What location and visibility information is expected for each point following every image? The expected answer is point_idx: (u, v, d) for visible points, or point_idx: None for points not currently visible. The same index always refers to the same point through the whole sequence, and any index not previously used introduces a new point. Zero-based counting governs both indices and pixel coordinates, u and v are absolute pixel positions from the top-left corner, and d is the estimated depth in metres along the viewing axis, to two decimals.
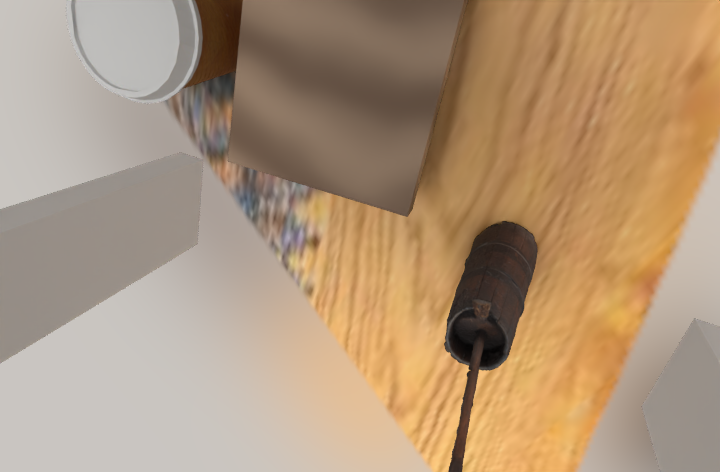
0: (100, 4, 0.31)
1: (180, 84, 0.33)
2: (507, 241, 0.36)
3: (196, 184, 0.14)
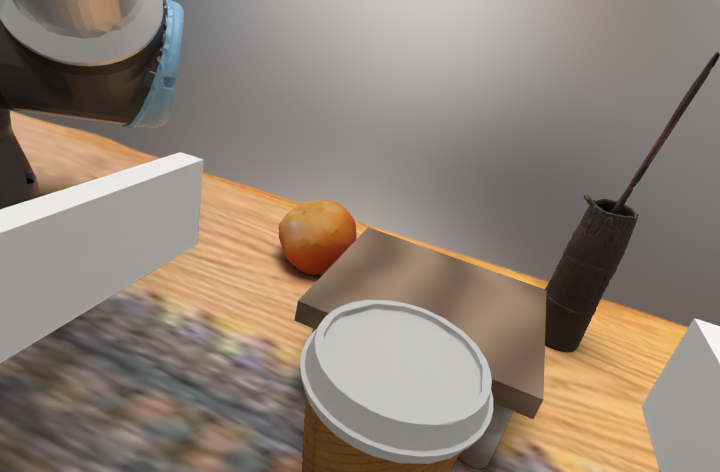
0: (369, 373, 0.22)
1: None
2: None
3: (196, 184, 0.14)
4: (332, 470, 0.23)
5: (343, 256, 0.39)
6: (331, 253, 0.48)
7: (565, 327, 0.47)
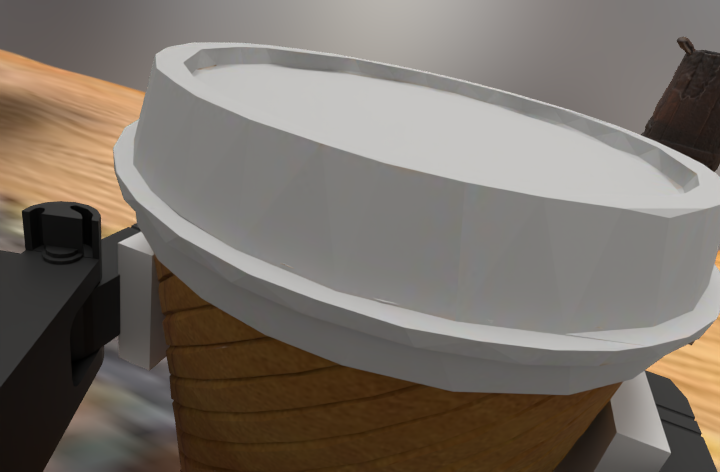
0: (335, 120, 0.07)
1: None
2: None
3: None
4: (222, 446, 0.07)
5: None
6: None
7: None
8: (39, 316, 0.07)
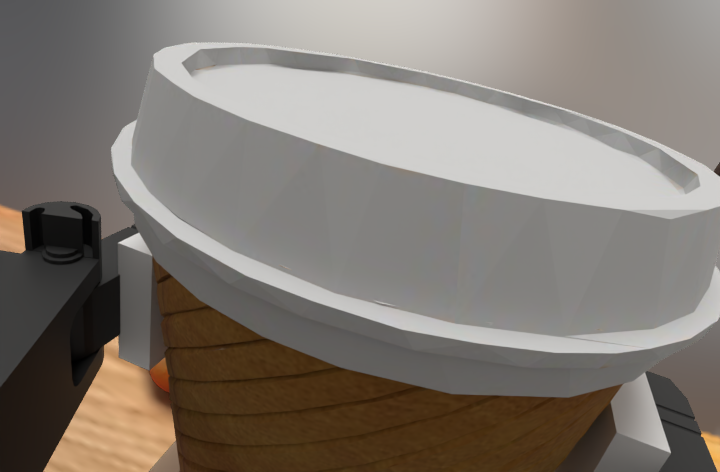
0: (333, 121, 0.07)
1: None
2: None
3: None
4: (220, 448, 0.07)
5: None
6: None
7: None
8: (39, 316, 0.07)
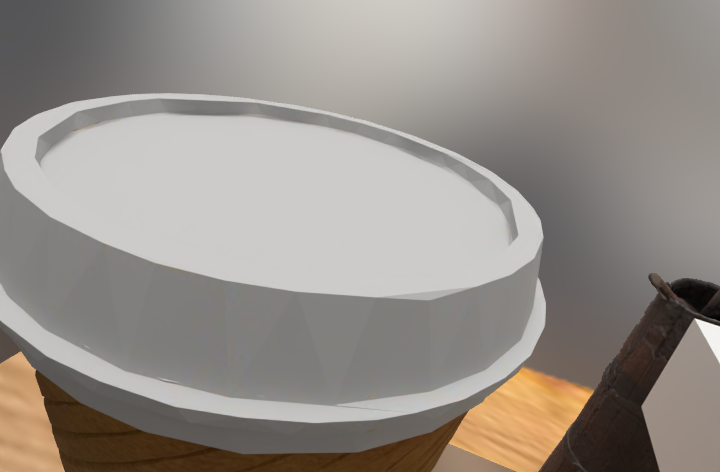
0: (184, 189, 0.07)
1: None
2: (561, 446, 0.26)
3: None
4: None
5: None
6: None
7: None
8: None
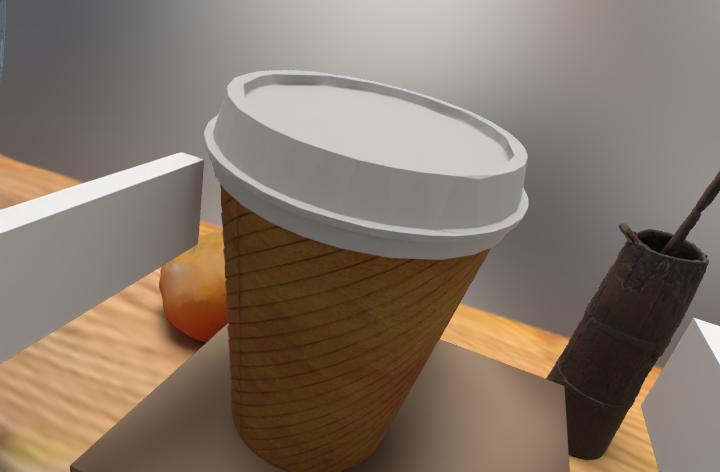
0: (326, 130, 0.13)
1: None
2: (553, 371, 0.32)
3: (196, 184, 0.14)
4: (271, 305, 0.13)
5: (214, 340, 0.22)
6: None
7: (590, 426, 0.30)
8: None
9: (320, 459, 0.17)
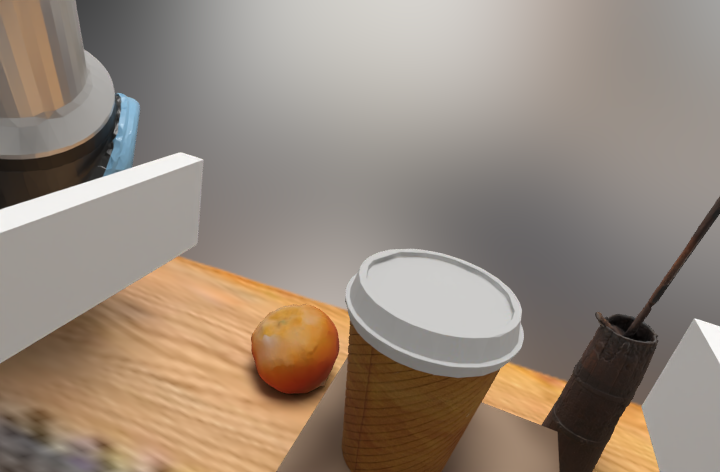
0: (416, 305, 0.24)
1: None
2: (550, 414, 0.43)
3: (196, 184, 0.14)
4: (389, 400, 0.24)
5: (320, 405, 0.33)
6: (310, 372, 0.42)
7: (578, 456, 0.41)
8: None
9: None
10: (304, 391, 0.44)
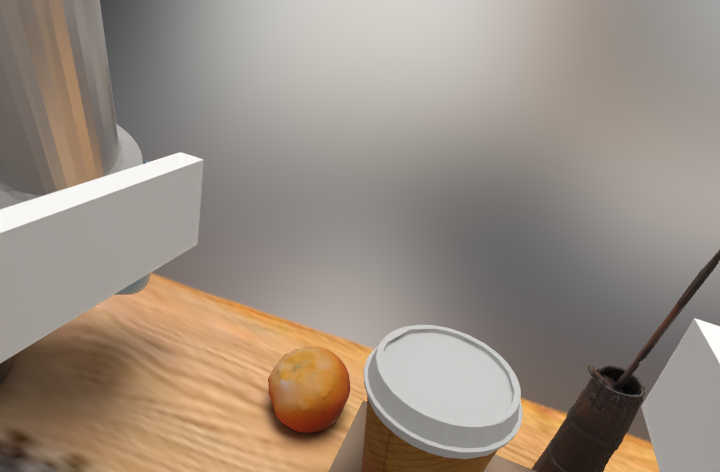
0: (427, 391, 0.27)
1: None
2: (546, 452, 0.47)
3: (196, 184, 0.14)
4: None
5: (338, 458, 0.36)
6: (324, 415, 0.46)
7: None
8: None
9: None
10: (318, 430, 0.47)
